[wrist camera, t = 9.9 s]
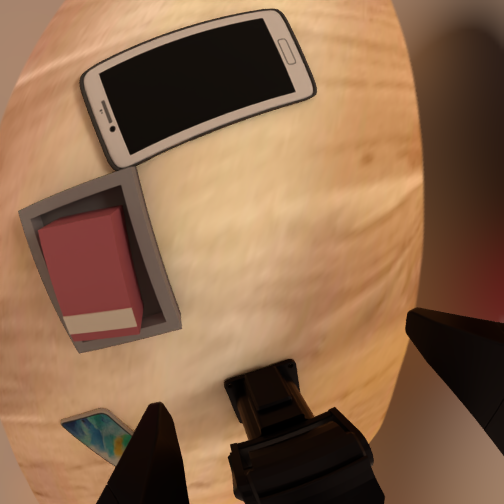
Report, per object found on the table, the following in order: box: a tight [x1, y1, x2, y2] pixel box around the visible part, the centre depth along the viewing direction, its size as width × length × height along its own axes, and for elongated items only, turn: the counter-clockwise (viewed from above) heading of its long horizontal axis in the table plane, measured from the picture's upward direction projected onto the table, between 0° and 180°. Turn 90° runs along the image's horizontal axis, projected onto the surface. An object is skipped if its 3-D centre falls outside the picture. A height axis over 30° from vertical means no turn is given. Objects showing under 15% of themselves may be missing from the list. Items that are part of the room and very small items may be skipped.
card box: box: [38, 205, 144, 342], centre depth 15 cm, size 7×4×4 cm, turn 4°
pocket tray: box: [18, 166, 182, 353], centre depth 16 cm, size 11×8×2 cm
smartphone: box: [61, 408, 134, 467], centre depth 23 cm, size 7×1×15 cm
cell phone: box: [79, 9, 317, 171], centre depth 15 cm, size 8×15×1 cm, turn 112°
